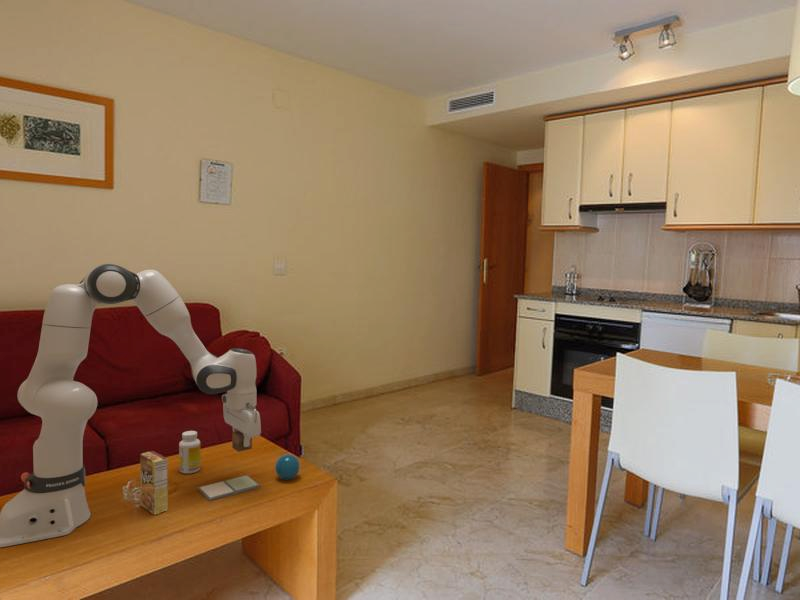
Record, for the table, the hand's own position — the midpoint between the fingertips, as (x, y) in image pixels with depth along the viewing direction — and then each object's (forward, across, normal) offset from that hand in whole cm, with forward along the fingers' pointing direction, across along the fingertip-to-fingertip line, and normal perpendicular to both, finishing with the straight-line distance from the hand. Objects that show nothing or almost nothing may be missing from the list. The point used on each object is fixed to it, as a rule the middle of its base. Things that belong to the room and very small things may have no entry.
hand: (241, 443), depth 168 cm
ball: (+14, -4, -14) cm, 20 cm away
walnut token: (+2, 0, 0) cm, 2 cm away
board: (+14, 0, +4) cm, 14 cm away
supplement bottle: (+14, +21, +9) cm, 27 cm away
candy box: (+14, 0, +26) cm, 30 cm away
